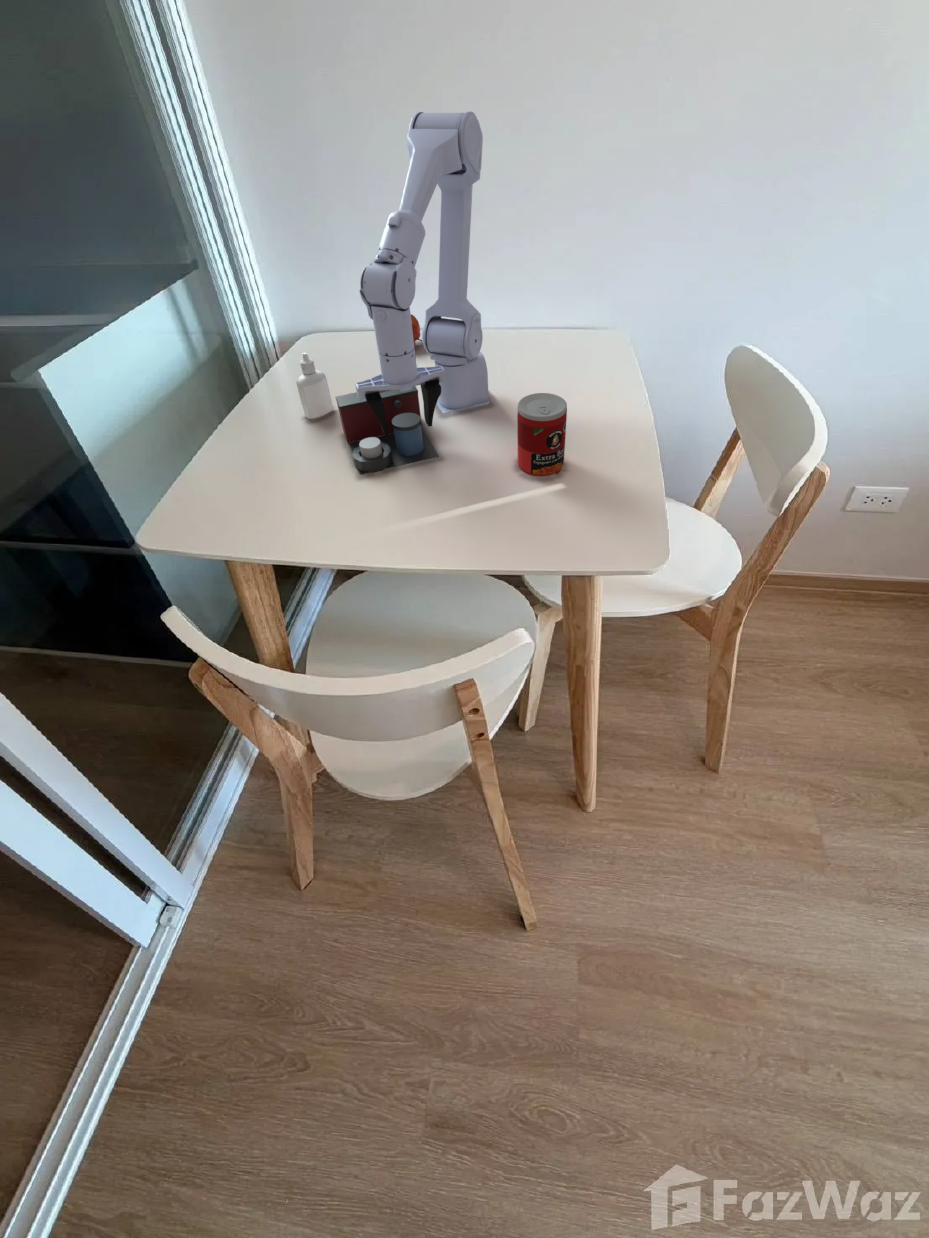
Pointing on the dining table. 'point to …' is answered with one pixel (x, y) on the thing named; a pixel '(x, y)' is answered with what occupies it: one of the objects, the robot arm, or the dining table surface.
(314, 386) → the eye dropper bottle
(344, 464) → the dining table surface
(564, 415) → the canned food
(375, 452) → the power button
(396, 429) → the container
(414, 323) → the pomegranate
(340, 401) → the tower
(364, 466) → the dark grey drip tray
